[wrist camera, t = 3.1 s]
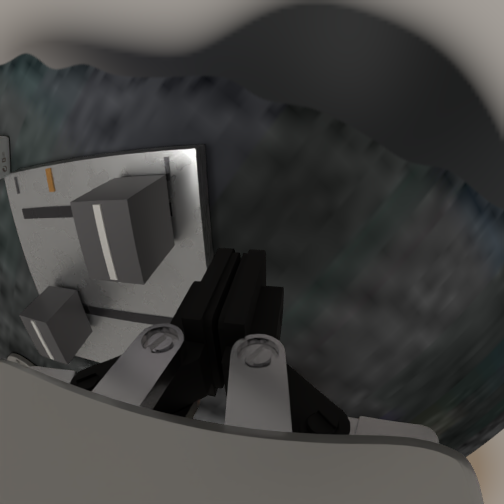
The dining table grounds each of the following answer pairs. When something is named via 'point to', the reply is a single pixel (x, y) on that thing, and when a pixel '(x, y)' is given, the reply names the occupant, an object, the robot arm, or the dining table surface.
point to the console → (69, 250)
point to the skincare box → (4, 156)
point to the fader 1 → (57, 323)
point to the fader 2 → (124, 228)
